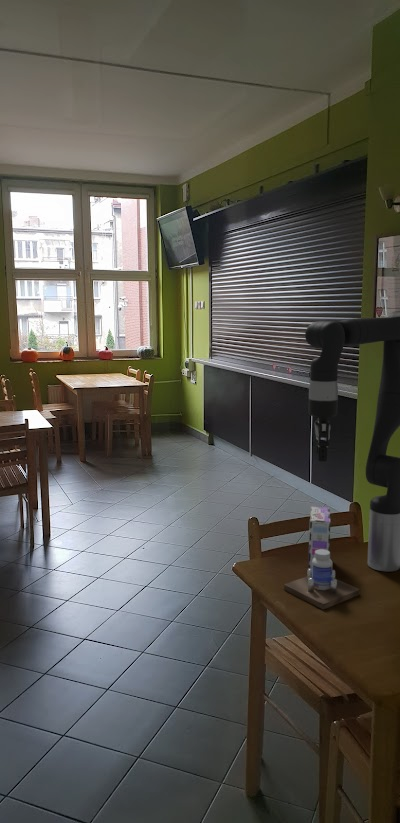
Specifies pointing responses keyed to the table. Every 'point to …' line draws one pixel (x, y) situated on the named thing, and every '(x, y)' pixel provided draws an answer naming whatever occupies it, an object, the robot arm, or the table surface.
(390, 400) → the robot arm
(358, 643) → the table surface
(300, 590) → the peg board
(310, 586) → the steel pegs
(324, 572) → the pill bottle
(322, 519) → the candy box
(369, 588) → the table surface
